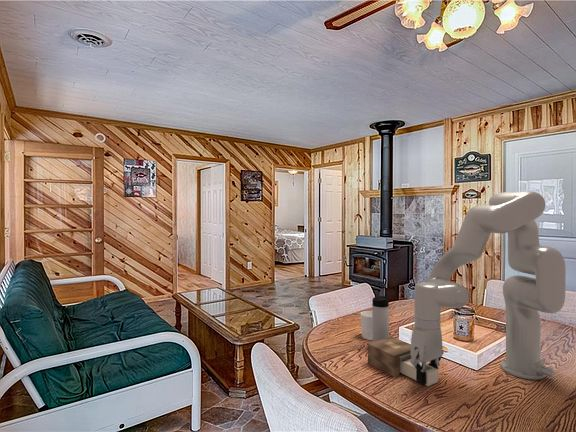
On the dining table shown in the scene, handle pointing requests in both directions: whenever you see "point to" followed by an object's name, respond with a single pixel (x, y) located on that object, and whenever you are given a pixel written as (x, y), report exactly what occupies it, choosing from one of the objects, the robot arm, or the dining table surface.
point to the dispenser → (388, 354)
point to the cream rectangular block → (410, 371)
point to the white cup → (366, 324)
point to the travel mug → (380, 318)
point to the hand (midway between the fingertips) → (427, 379)
